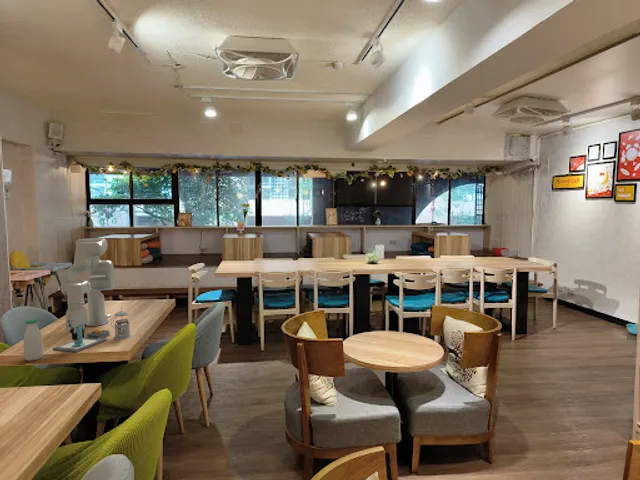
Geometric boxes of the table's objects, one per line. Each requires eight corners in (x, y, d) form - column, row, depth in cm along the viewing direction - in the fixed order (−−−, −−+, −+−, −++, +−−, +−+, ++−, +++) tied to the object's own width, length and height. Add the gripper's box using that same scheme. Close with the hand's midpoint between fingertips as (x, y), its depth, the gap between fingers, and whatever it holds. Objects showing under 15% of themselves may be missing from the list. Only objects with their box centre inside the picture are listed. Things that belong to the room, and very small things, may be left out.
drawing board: (84, 338, 237) (84, 336, 237) (106, 340, 232) (106, 338, 232) (53, 349, 218) (53, 347, 218) (76, 352, 213) (75, 350, 213)
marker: (78, 341, 224) (77, 320, 223) (84, 342, 222) (83, 321, 221) (72, 344, 220) (70, 322, 219) (78, 344, 218) (76, 323, 217)
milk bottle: (47, 356, 208) (44, 318, 206) (32, 361, 201) (29, 322, 199) (36, 354, 211) (33, 317, 209) (21, 360, 203) (18, 321, 202)
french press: (124, 340, 233) (122, 297, 230) (106, 338, 235) (104, 296, 233) (135, 334, 242) (133, 293, 240) (118, 333, 244) (116, 293, 242)
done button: (98, 333, 241) (98, 328, 241) (103, 333, 240) (103, 328, 240) (93, 335, 237) (92, 330, 237) (98, 335, 236) (98, 330, 236)
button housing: (98, 334, 244) (98, 329, 243) (109, 335, 241) (109, 330, 241) (87, 338, 236) (87, 333, 236) (98, 339, 234) (98, 334, 233)
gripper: (83, 301, 228) (85, 333, 230) (56, 309, 213) (59, 342, 214) (94, 302, 226) (96, 334, 228) (67, 309, 210) (70, 344, 212)
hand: (78, 338), depth 221 cm, fingers closed on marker, 3 cm apart
